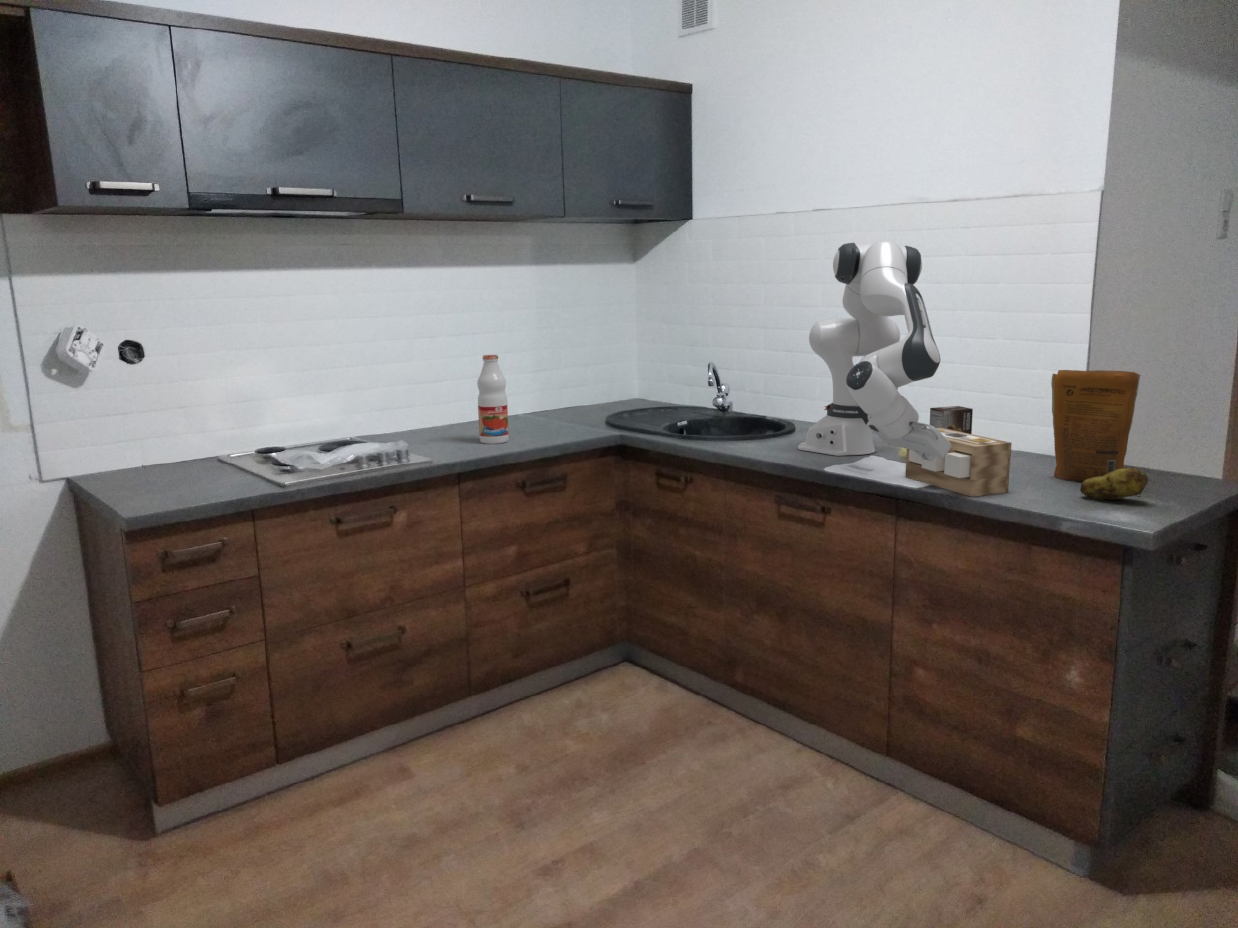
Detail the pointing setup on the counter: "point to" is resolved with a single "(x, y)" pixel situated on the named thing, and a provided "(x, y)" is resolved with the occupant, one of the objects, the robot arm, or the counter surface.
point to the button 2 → (958, 464)
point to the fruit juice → (492, 403)
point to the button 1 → (914, 457)
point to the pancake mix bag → (1091, 421)
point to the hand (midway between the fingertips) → (930, 458)
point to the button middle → (934, 464)
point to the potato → (1115, 484)
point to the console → (985, 465)
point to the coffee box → (952, 418)
